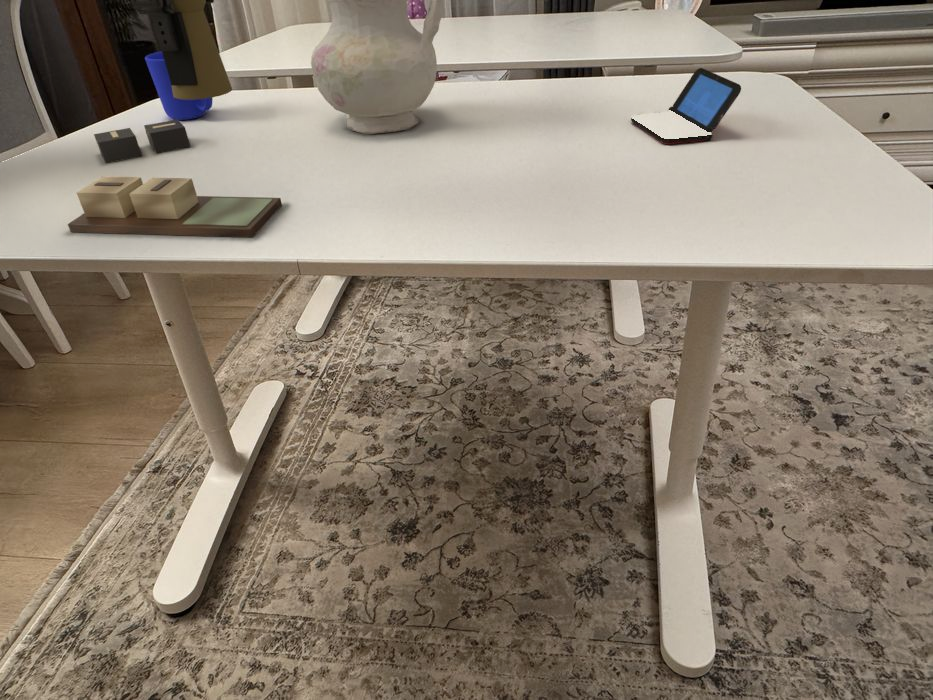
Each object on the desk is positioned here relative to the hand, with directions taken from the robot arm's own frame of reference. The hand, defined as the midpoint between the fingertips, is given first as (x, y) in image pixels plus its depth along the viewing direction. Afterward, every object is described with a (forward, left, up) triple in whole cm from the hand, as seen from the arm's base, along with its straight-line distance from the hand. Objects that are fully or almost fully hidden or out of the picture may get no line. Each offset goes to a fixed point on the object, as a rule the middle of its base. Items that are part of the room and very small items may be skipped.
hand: (196, 78), depth 68 cm
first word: (-33, -4, -15) cm, 36 cm away
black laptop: (+9, +65, -15) cm, 67 cm away
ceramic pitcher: (-22, +31, -15) cm, 41 cm away
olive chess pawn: (0, 0, -2) cm, 2 cm away
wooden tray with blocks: (-3, -6, -15) cm, 16 cm away
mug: (-47, +6, -15) cm, 50 cm away
